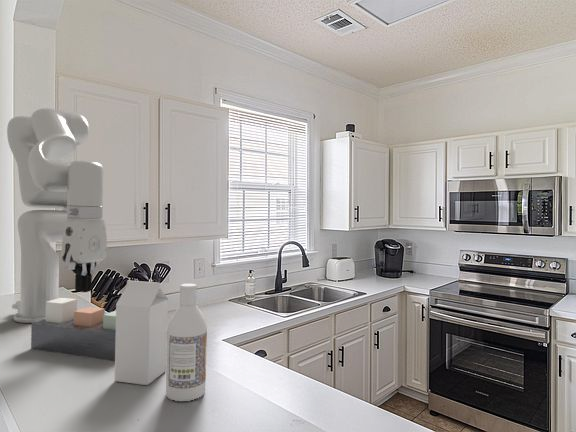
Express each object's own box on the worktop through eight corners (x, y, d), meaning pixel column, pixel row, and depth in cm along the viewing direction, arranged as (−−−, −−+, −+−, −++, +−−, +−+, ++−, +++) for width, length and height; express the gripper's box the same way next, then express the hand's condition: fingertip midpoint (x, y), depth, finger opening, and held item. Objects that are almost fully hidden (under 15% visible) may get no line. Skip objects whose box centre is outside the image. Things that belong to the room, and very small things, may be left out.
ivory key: (45, 326, 94) (45, 301, 94) (60, 321, 99) (61, 297, 99) (61, 328, 93) (61, 303, 93) (76, 323, 98) (76, 299, 98)
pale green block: (102, 341, 91) (103, 314, 90) (116, 335, 95) (116, 310, 95) (120, 343, 89) (120, 316, 89) (133, 337, 94) (133, 311, 94)
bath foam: (209, 399, 71) (212, 287, 71) (169, 406, 68) (172, 289, 68) (200, 383, 77) (202, 280, 77) (163, 389, 74) (165, 282, 74)
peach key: (73, 337, 93) (74, 311, 92) (87, 331, 97) (88, 306, 97) (90, 339, 91) (90, 313, 91) (104, 333, 96) (104, 308, 96)
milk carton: (147, 386, 75) (150, 286, 75) (114, 381, 77) (116, 283, 76) (166, 371, 82) (168, 279, 82) (135, 367, 84) (137, 277, 83)
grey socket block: (31, 349, 92) (31, 323, 92) (65, 335, 102) (65, 312, 102) (116, 361, 87) (117, 333, 87) (144, 346, 96) (144, 321, 96)
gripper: (74, 214, 86) (72, 299, 86) (119, 214, 100) (117, 286, 101) (45, 213, 88) (44, 296, 88) (93, 213, 102) (92, 284, 103)
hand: (83, 291), depth 95 cm, fingers closed
